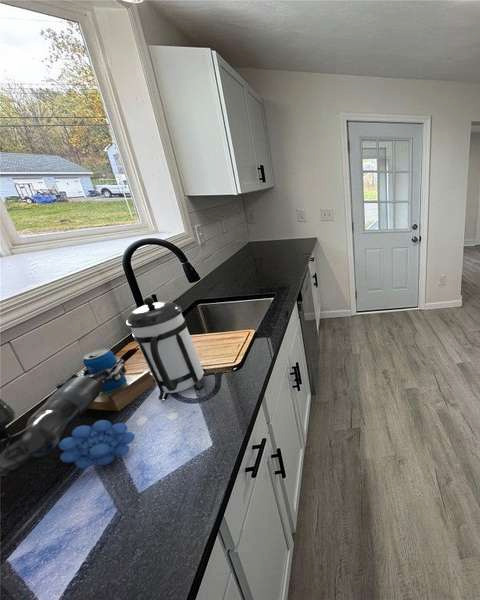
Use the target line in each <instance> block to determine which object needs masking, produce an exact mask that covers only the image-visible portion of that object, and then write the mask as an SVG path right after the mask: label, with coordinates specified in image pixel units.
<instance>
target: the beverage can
mask: <svg viewBox="0 0 480 600" xmlns="http://www.w3.org/2000/svg"><path fill="white" fill-rule="evenodd" d="M82 358H83V360H82V363H83V365H84V367H85V369H86V368H87V370H88V372H89V374H93V373H97V372H99V371H100V370H102V369H104V368H109V367H111V366H112V365H113V364H114V363H115V362H116V361H117V360H118V359H117V358H116V356H115V354H114V352H113V351H112V350H110V348H107V347H106V348H105V347H104V348H97V349H95V350H92V351H90V352H88V353H86V354H85V355H83V357H82ZM112 372H114V370H113V369H112V370H111V373H112ZM103 374H104V375H105V376H106V374H105V372H104V373H103ZM106 377H107V376H106ZM126 381H127V380H126V378H125V376H123V377H122V379H121V380H120V381H119V382H115V381H114V380H113V381H109V382H108V383H107V384H105V385H104V386H102V389H101V392H104V393H109V392H113V391H116V390H118V389H120V388H121V387H123V386H124V384H125V383H126Z"/></svg>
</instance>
